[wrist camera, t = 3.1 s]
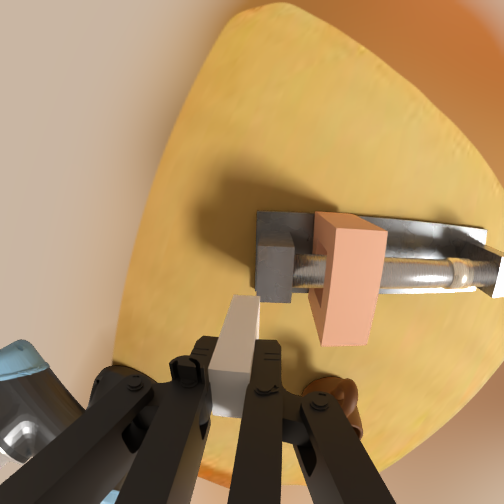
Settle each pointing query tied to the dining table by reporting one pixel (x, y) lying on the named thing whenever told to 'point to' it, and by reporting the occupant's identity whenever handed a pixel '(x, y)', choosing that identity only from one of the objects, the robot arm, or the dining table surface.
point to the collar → (347, 277)
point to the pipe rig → (395, 262)
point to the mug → (341, 397)
